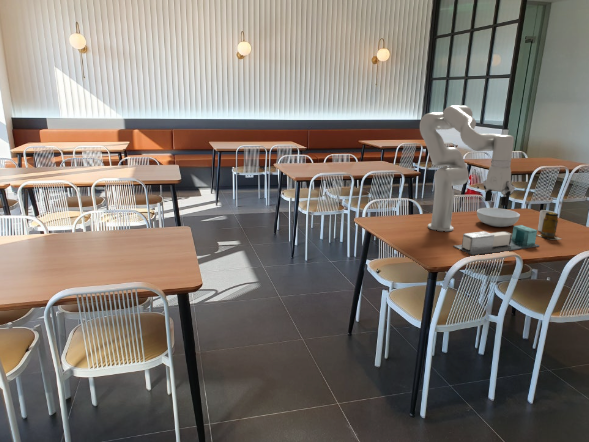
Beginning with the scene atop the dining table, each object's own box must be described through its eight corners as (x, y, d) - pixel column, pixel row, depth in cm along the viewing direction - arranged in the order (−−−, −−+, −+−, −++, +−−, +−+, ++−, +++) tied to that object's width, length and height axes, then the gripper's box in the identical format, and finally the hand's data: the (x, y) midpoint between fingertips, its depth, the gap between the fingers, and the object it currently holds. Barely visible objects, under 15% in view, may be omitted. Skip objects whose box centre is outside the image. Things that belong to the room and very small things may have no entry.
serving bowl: (480, 217, 247) (482, 205, 246) (521, 224, 236) (523, 211, 234) (470, 225, 231) (472, 212, 229) (513, 232, 219) (516, 219, 218)
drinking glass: (550, 233, 220) (554, 214, 217) (535, 230, 223) (539, 212, 221) (552, 230, 225) (555, 211, 222) (537, 228, 229) (541, 209, 226)
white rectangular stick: (468, 250, 189) (470, 239, 188) (462, 247, 193) (463, 236, 191) (510, 244, 198) (512, 234, 196) (503, 241, 201) (505, 231, 200)
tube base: (472, 255, 185) (474, 239, 183) (453, 246, 196) (455, 231, 194) (539, 246, 199) (542, 231, 197) (517, 238, 210) (520, 223, 208)
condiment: (546, 234, 218) (551, 211, 215) (562, 239, 211) (566, 215, 208) (536, 235, 216) (540, 212, 213) (551, 240, 208) (555, 216, 205)
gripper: (479, 162, 194) (475, 199, 199) (509, 167, 178) (504, 207, 183) (493, 161, 197) (488, 198, 201) (523, 166, 181) (518, 206, 185)
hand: (496, 203), depth 192 cm, fingers open, 9 cm apart
